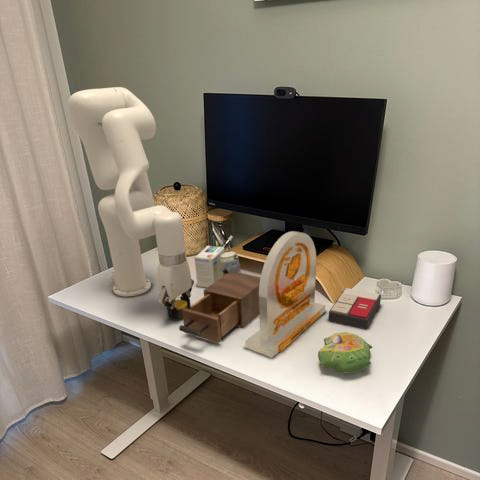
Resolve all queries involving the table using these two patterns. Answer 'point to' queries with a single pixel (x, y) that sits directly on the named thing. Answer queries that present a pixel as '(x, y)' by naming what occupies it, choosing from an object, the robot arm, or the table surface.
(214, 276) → the light bulb box
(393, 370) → the table surface
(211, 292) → the cabinet
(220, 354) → the table surface
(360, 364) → the educational model
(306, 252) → the award
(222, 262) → the beverage can
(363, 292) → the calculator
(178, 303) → the jar
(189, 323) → the drawer
